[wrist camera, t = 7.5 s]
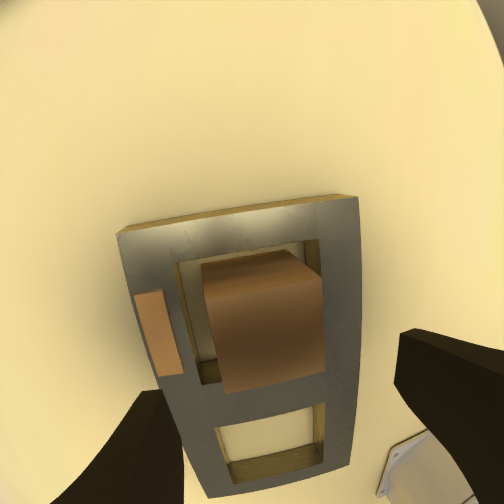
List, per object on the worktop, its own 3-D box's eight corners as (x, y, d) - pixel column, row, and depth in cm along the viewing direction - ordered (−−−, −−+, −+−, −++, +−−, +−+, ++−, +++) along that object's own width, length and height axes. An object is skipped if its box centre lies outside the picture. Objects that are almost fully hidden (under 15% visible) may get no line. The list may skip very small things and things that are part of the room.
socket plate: (338, 447, 19) (350, 466, 17) (205, 477, 18) (208, 500, 16) (338, 194, 15) (360, 197, 12) (126, 226, 13) (114, 235, 11)
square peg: (292, 323, 16) (324, 371, 12) (215, 338, 15) (225, 393, 11) (285, 249, 15) (321, 277, 11) (201, 263, 14) (204, 299, 10)
